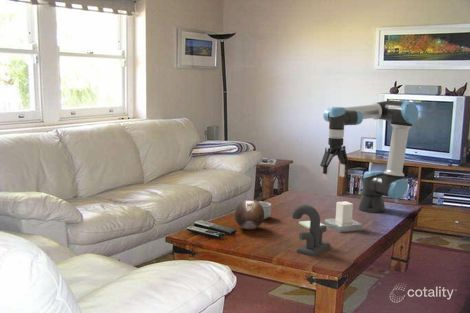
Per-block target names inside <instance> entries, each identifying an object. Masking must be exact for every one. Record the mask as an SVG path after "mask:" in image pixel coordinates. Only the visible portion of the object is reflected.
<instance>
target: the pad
mask: <svg viewBox="0 0 470 313" xmlns="http://www.w3.org/2000/svg"><path fill="white" fill-rule="evenodd" d="M298 224H299V225H301V226H303V227H304V228H306V229H308V230H310V220H302V221H301V220H300V221H298ZM324 224H325V223H322V222H320V226H321V225H324ZM324 226H326V225H324Z"/></svg>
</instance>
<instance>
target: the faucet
mask: <svg viewBox="0 0 470 313" xmlns="http://www.w3.org/2000/svg"><path fill="white" fill-rule="evenodd" d="M304 215H305V216H308V217H309V221H310V229H309V232H307V231H304V232H302V231H301V232H299V234H298V238H299V240H300V241H305V244H304V245H302V246H301V247H299V248H298V249H296V253H298V254H302V255H307V256H308V257H309V256H311V257H315V256H317V255H319V254H320V253H322V252H323V251H325V250H327V249H328V248H330V247H331V243H329V242H327V241H323V234H324V233H325V232H326V231H327V226H326V225H325V226H324V225H321V226H320V223H321V218H320V217H321V216H320V214H319V212H318V211H317V210H316V209H315V207H314V206H311V205H309V204H301V205H298V206H297V207H296V208H295V209H294V210H293V212H292V215H291V218H292V219H294V220H300V219H301V218H303V217H302V216H304Z"/></svg>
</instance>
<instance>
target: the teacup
mask: <svg viewBox="0 0 470 313" xmlns="http://www.w3.org/2000/svg"><path fill="white" fill-rule="evenodd" d="M257 202H258V203H259V204H260V205H261V206H262V207H263V210H264V219H263V220H266V219H269V217H270V216H271V214H272V213H271V212H272V203H270V202H268V201H261V200H260V201H257Z"/></svg>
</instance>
